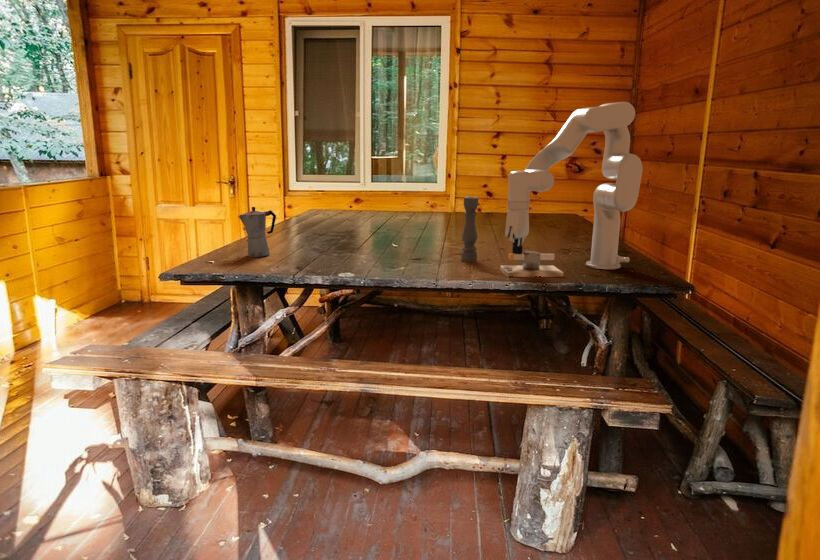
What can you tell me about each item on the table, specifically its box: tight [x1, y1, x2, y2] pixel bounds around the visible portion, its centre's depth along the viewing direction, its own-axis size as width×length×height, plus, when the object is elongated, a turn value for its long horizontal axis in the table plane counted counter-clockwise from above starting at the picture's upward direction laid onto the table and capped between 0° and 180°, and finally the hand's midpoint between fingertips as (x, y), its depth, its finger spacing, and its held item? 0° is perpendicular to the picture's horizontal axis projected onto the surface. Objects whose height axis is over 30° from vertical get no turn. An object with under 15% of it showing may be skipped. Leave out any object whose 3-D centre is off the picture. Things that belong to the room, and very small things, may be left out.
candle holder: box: [460, 196, 479, 263], centre depth 222 cm, size 6×6×25 cm
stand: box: [499, 264, 564, 278], centre depth 204 cm, size 20×12×2 cm, turn 93°
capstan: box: [507, 250, 556, 270], centre depth 203 cm, size 16×6×6 cm, turn 92°
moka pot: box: [238, 206, 277, 258], centre depth 229 cm, size 10×15×20 cm, turn 127°
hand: (517, 256), depth 205 cm, fingers closed
